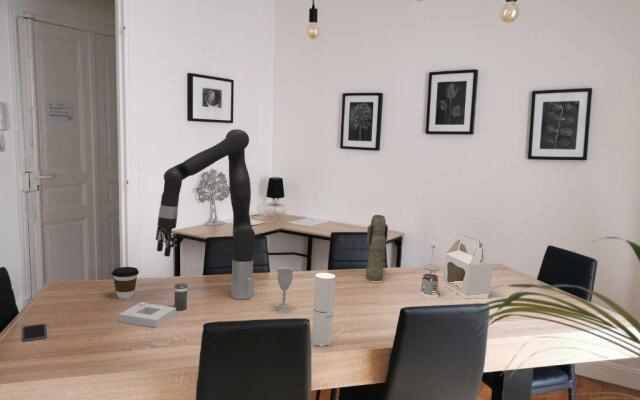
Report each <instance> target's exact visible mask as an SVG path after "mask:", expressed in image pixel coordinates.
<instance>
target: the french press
mask: <svg viewBox="0 0 640 400" xmlns="http://www.w3.org/2000/svg"><path fill="white" fill-rule="evenodd" d="M430 247H431V248H432V249H435V248H436V246H435V245H431V246H430ZM431 252H432V254H431V258H433V257H434V256H433V255H434V251H431ZM440 268H441V267H439V266H437V265H435V264H433V262H431V263H430V264H429V263H428V264H426V265H424V266H422V269H424V270H425V271H430V273H424V274H423V275H422V277H421V286H420V288H421V289H420V292H422V291H423V292H424V294H428V295H433V294H432V293H436V292H437V293H436V294H438V289H439V279H438V278H439V276H438V275H436V274H435V272H438V271H440V270H441V269H440ZM432 273H433V274H432ZM432 291H436V292H432ZM434 295H435V294H434Z"/></svg>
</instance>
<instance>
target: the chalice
mask: <svg viewBox="0 0 640 400" xmlns="http://www.w3.org/2000/svg"><path fill="white" fill-rule="evenodd" d="M276 269H277V283H278V285H279V287H280V290H282V294H281V295H282V297H281V300H282V303H281V304H279V306H278V308H277V311H278V312H281V313H287V312H289V311H290V309H289V305H288V304H287V303H286V300H287V298H286V295H287V294H286V291H288V290H289V288H290V286H291V284H292V281H293V272H294V270H295V269H294V268H293V267H292V266H291V267H290V266H278V267H277V268H276Z"/></svg>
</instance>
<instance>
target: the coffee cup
mask: <svg viewBox="0 0 640 400" xmlns="http://www.w3.org/2000/svg"><path fill="white" fill-rule="evenodd" d="M139 273H140V271H139V268H137V267H133V266H123V267H122V266H121V267H115V268H114V269H113V270H112V272H111V275H112V276H113V283H114V288H115V291H116V293H115V294H116V296H117V298H118V299H122V300H127V299H131V298H132V297H134V294H135V289H136V285H137V280H138V278H137V277H138V275H139Z"/></svg>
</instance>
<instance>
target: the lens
mask: <svg viewBox="0 0 640 400" xmlns="http://www.w3.org/2000/svg"><path fill="white" fill-rule="evenodd" d="M173 288H174V290H173V291H174V295H173V296H174V301H173V304H174V305H173V307H174V308H176V312H183V311H186V310H187V307H188V284H187V283H176V284H174V287H173Z"/></svg>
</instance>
